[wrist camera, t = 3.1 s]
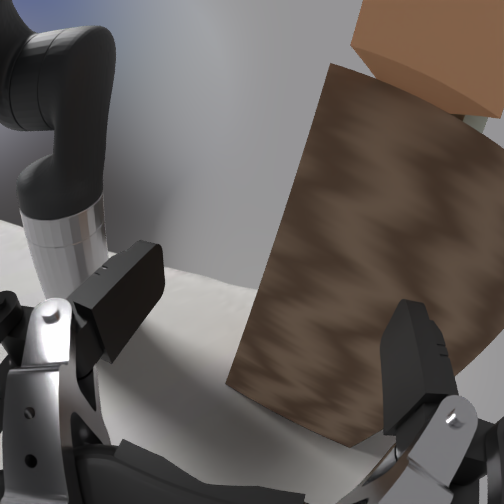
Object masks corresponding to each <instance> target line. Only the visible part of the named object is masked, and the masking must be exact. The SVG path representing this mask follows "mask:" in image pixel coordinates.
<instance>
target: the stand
mask: <svg viewBox="0 0 504 504" xmlns="http://www.w3.org/2000/svg"><path fill="white" fill-rule="evenodd" d="M487 119H488V117H483V116H473V115H461V114H449V113H447V112H446V111H444V110H442V109H440V108H438V107H436V106H434V105H433V104H431V103H429V102H427V101H425V100H423V99H421V98H419V97H417V96H414V95H412V94H410V93H408V92H406V91H404V90H401V89H399V88H397V87H395V86H392V85H390V84H388V83H385V82H383V81H380V80H378V79H375V78H373V77H370V76H367V75H365V74H362V73H359V72H356V71H353V70H350V69H347V68H344V67H341V66H338V65H335V64H332V63H330V66H329V70H328V73H327V76H326V79H325V83H324V86H323V89H322V93H321V96H320V99H319V103H318V106H317V109H316V112H315V116H314V119H313V123H312V126H311V129H310V132H309V135H308V138H307V142H306V145H305V148H304V151H303V155H302V158H301V161H300V164H299V167H298V170H297V173H296V176H295V180H294V183H293V186H292V189H291V192H290V195H289V198H288V202H287V204H286V208H285V211H284V214H283V217H282V220H281V223H280V226H279V229H278V232H277V235H276V238H275V241H274V244H273V247H272V250H271V253H270V257H269V259H268V262H267V265H266V268H265V271H264V274H263V277H262V280H261V283H260V286H259V289H258V292H257V295H256V298H255V301H254V303H253V306H252V309H251V312H250V315H249V318H248V321H247V324H246V327H245V330H244V332H243V335H242V338H241V341H240V344H239V347H238V350H237V352H236V355H235V358H234V361H233V364H232V367H231V369H230V372H229V375H228V378H227V381H226V383H225V384H227V385H228V386H230V387H232V388H233V389H235V390H236V391H238V392H240V393H242V394H243V395H245V396H247V397H248V398H250V399H252V400H254V401H255V402H257V403H259V404H261V405H262V406H264V407H266V408H268V409H270V410H272V411H273V412H275V413H277V414H279V415H281V416H283V417H285V418H287V419H289V420H291V421H293V422H295V423H297V424H299V425H301V426H303V427H305V428H307V429H309V430H311V431H313V432H315V433H318V434H320V435H322V436H324V437H326V438H329V439H331V440H333V441H335V442H338V443H340V444H342V445H345V446H347V447H350V448H351V447H352V446H354V445H356V444H358V443H360V442H362V441H363V440H365V439H367V438H369V437H370V436H372V435H374V434H375V433H377V432H379V431H380V430H382V429H383V391H382V374H381V360H380V342H381V338H382V335H383V332H384V331H385V329H386V327H387V325H388V323H389V321H390V319H391V317H392V315H393V313H394V311H395V309H396V307H397V305H398V303H399V302H400V301H401V300H402V299H407V300H412V301H417V302H422V303H424V304H425V307H426V310H427V313H428V316H429V319H430V320H433V321H434V322H435V323H436V325H437V326H438V328H439V329H440V330H441V332H442V334H443V337H444V341H445V344H446V346H445V347H447V351H448V354H449V356H448V358H450V361H451V365H452V369H453V373H454V377H455V376H456V375H457V374H458V373H459V372H460V371H462V370H463V369H464V368H465V367H466V366H467V365H468V364H469V363H470V362H472V361H473V360H474V359H475V358H476V357H477V356H478V355H479V354H480V353H481V352H482V351H483V350H484V349H485V348H486V347H487V346H488V345H489V344H490V343H491V342H492V341H493V340H494V339H495V338H496V336H497V335H498V334H499V333H500V332H501V331H502V330H503V329H504V149H503V148H502V147H501V146H499V145H498V144H496V143H495V142H493V141H492V140H491V139H489V138H488V137H486V136H485V135H483V134H482V133H483V130H484V127H485V125H486V122H487Z"/></svg>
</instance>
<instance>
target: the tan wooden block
mask: <svg viewBox="0 0 504 504" xmlns="http://www.w3.org/2000/svg"><path fill="white" fill-rule="evenodd" d="M351 47H352V48H353V49H354V50H355V52H356V53H357V54H358V55H359V56H360V58H361V59H362V60H363V62H364V63H365V64H366V65H367V67H368V68H369V69H370V71H371V72H372V73H373V74H374V76H375V77H376V79H378V80H380V81H383V82H385V83H388V84H390V85H392V86H395V87H397V88H399V89H401V90H404V91H406V92H408V93H410V94H412V95H414V96H417V97H419V98H421V99H423V100H425V101H427V102H429V103H431V104H433V105H434V106H436V107H438V108H440V109H442V110H444V111H446V112H447V113H449V114H461V115H473V116H483V117H491V118H499V119H500V118H501V115H502V112H503V109H504V0H363V2H362V6H361V10H360V13H359V17H358V20H357V24H356V27H355V31H354V34H353V38H352V41H351Z"/></svg>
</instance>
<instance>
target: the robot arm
mask: <svg viewBox="0 0 504 504" xmlns="http://www.w3.org/2000/svg"><path fill="white" fill-rule="evenodd" d="M115 63H116V47H115V42H114V38H113V36H112V34H111V32H110V31H109V30H108V29H107V28H105V27H102V26H82V27H73V28H67V29H60V30H54V31H49V32H44V33H36V32H33V31H32V30H31V29H29V28H28V26H27V25H26V24H25V23H24V22H23V20H22V19H21V18H20V16H19V14H18V13H17V11H16V9H15V7H14V5H13V3H12V0H0V123H1V124H2V125H4V126H5V127H7V128H10V129H13V130H17V131H43V130H44V131H45V130H46V131H47V130H54V149H53V154H50V155H48V156H45V157H43V158H41V159H39V160H37V161H35V162H33V163H32V164H30V165H29V166H28V167H27V168H25V169H24V170H23V171H22V172H21V174H20V175H19V177H18V179H17V183H16V192H17V198H18V204H19V208H20V213H21V218H22V222H23V227H24V231H25V235H26V238H27V242H28V245H29V249H30V253H31V256H32V259H33V263H34V266H35V269H36V272H37V275H38V278H39V281H40V284H41V287H42V289H43V292H44V295H45V297H46V300H44V301H42V302H41V303H39V304H38V305H37V306H36V307H35V308H33V307H27V306H21V305H20V303H19V301H18V298H17V296H16V294H15V293H14V292H12V291H2V292H0V343H1V344H2V345H3V347H4V348H5V350H6V352H7V353H8V355H7V356H6V358H5V359H4V360H3V361H2V363H1V364H0V433H1V432H2V430H3V437H2V447H3V470H0V504H308V503H305V502H304V498H305V494H301V493H294V492H287V491H281V490H275V489H270V488H265V487H260V486H225V485H210V484H206V483H203V482H201V481H199V480H197V479H196V478H194V477H193V476H191V475H189V474H188V473H186V472H185V471H183V470H182V469H180V468H178V467H177V466H175V465H174V464H172V463H171V462H170V461H168V460H167V459H165V458H164V457H162V456H159V455H157V454H155V453H152V452H150V451H148V450H146V449H143V448H141V447H139V446H137V445H135V444H133V443H131V442H128V441H126V440H124V439H122V441H121V443H120V445H119V446H115V445H111V442H110V438H109V434H108V431H107V429H106V426H105V424H104V421H103V418H102V413H101V405H100V396H99V386H98V374H97V367H96V363H97V361H98V360H99V359H100V358H101V359H103V360H105V361H107V362H109V363H111V364H112V363H113V362H114V360H115V359H116V357H117V356H118V355H119V353H120V352H121V350H122V349H123V348H124V346H125V345H126V344H127V342H128V341H129V339H130V338H131V337H132V335H133V334H134V333H135V331H136V330H137V329H138V327H139V326H140V325H141V323H142V322H143V321H144V319H145V318H146V317H147V315H148V314H149V313H150V311H151V310H152V309H153V307H154V306H155V305H156V303H157V302H158V301H159V300H160V298H161V296H162V294H163V292H164V287H165V276H164V265H163V251H162V247H161V246H160V245H159V244H155V243H151V242H147V241H142V240H139V241H137V242H136V243H135V244H134V245H132V246H131V247H130V248H129V249H128V250H127V251H123V252H121V253H118V254H116V255H114V256H112V257H111V258H109V259H108V250H107V241H106V230H105V216H104V201H103V170H104V161H105V150H106V133H107V122H108V113H109V105H110V99H111V93H112V87H113V80H114V74H115ZM445 346H446V344H445V341H444V337H443V334H442V332H441V330H440V329H439V328H438V326H437V325H436V323H435V322H434V321H433V320H430V319H429V316H428V313H427V310H426V307H425V304H424V303H422V302H417V301H412V300H407V299H402V300H401V301H400V302H399V303H398V305H397V307H396V309H395V311H394V313H393V315H392V317H391V319H390V321H389V323H388V325H387V327H386V329H385V331H384V332H383V335H382V338H381V342H380V360H381V374H382V391H383V435H393V436H396V443H395V444H394V445H393V446H392V447H391V448H390V449H389V451H388V452H387V453H386V454H385V456H384V457H383V458H382V459H381V460H380V461H379V463H378V464H377V465H376V466H375V467H374V468H373V470H372V471H371V472H370V473H369V474H368V475H367V476H366V477H365V478H364V479H363V481H362V482H361V483H360V484H359V485H358V486H357V487H356V488H355V489H353V490H352V491H351V492H350V493H348V494H347V495H346V496H344V497H343V498H342V499H341V500H339V501H338V502H337V503H336V504H479V479H480V478H482V477H484V476H485V475H488V504H504V417H502V418H501V419H500V420H499V421H498V422H497V423H496V424H493V423H490V422H487V421H484V420H481V419H478V418H477V413H476V411H475V408H474V407H473V405H472V404H471V403H470V402H469V401H468V400H467V399H465V398H464V397H462V396H459V394H458V390H457V385H456V381H455V377H454V373H453V369H452V365H451V361H450V358H448V356H449V354H448V351H447V347H445Z"/></svg>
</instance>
